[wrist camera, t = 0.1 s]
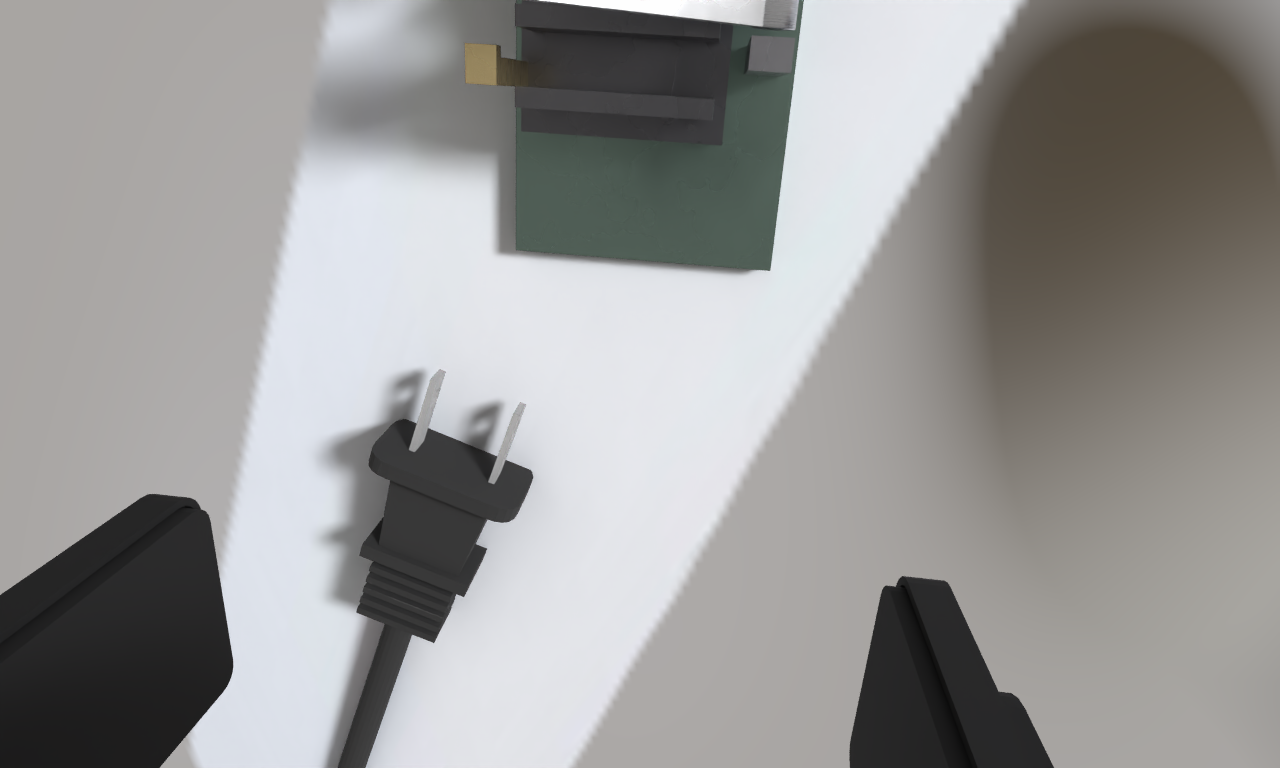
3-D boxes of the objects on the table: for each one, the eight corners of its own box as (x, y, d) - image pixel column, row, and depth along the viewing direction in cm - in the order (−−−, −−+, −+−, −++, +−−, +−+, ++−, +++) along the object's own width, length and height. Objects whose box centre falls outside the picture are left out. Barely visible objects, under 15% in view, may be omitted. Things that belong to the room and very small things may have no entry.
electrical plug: (563, 404, 44) (543, 444, 39) (391, 837, 60) (363, 901, 56) (422, 345, 43) (384, 380, 39) (288, 798, 60) (251, 859, 56)
